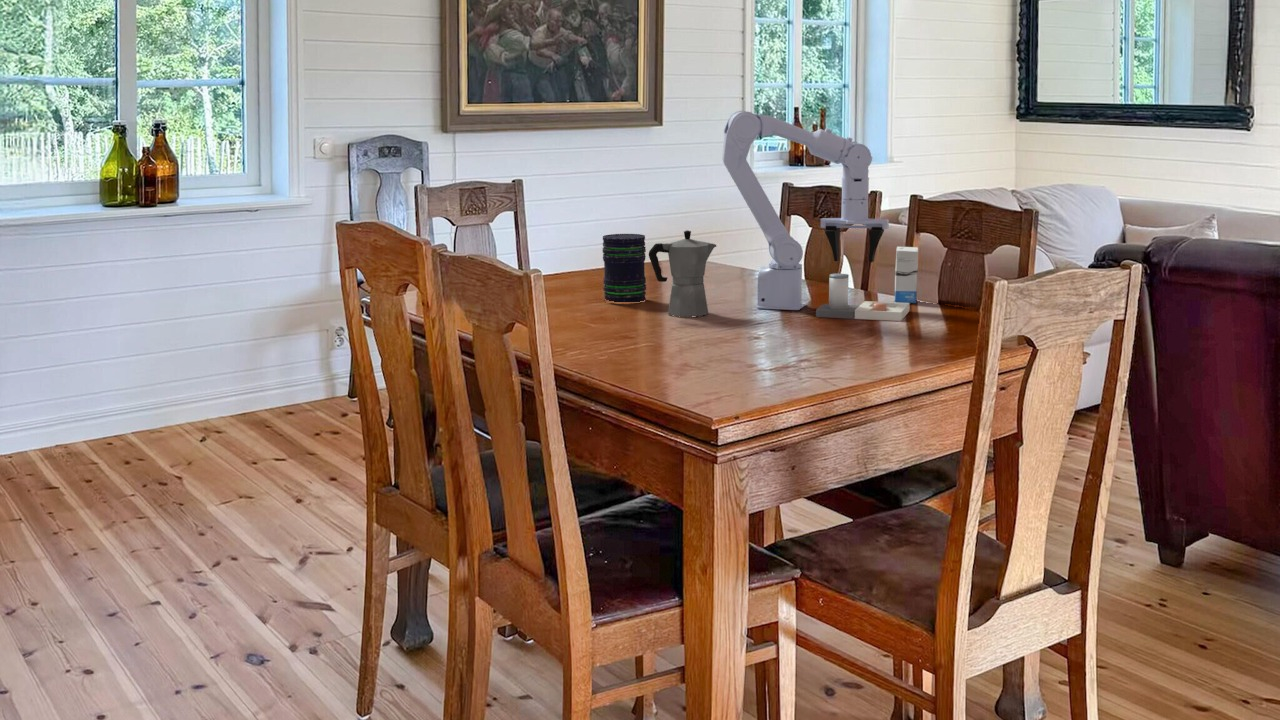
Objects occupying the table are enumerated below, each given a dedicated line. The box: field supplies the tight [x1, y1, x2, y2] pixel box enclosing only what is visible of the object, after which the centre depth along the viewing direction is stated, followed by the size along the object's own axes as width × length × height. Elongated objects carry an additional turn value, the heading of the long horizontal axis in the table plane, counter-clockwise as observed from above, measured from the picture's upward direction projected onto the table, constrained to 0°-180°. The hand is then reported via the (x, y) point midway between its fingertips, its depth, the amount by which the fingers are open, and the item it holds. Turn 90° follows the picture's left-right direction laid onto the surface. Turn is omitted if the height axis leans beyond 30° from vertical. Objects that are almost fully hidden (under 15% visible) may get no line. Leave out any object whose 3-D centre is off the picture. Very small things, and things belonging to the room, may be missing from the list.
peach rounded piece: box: [873, 303, 887, 311], centre depth 266 cm, size 3×3×3 cm
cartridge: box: [828, 273, 849, 309], centre depth 270 cm, size 4×4×7 cm
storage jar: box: [602, 233, 647, 302], centre depth 291 cm, size 10×10×15 cm
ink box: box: [894, 246, 919, 304], centre depth 286 cm, size 8×5×12 cm, turn 168°
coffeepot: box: [648, 229, 717, 318], centre depth 272 cm, size 15×9×18 cm, turn 110°
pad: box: [815, 303, 861, 320], centre depth 271 cm, size 8×8×2 cm
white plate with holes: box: [854, 300, 911, 322], centre depth 270 cm, size 10×12×2 cm
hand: (853, 261), depth 279 cm, fingers open, 7 cm apart
